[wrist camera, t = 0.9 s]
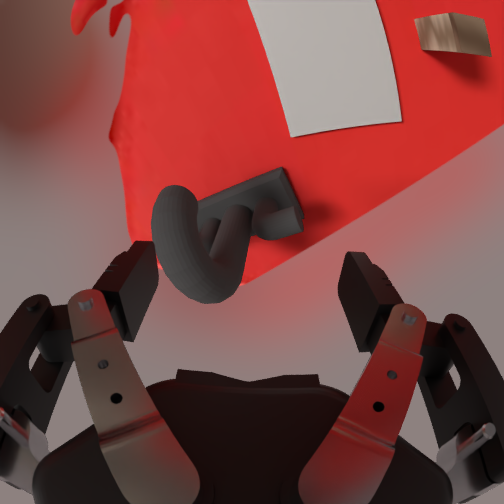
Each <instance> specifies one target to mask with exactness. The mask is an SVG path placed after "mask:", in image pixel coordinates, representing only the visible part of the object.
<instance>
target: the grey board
mask: <svg viewBox="0 0 504 504" xmlns="http://www.w3.org/2000/svg"><path fill="white" fill-rule="evenodd" d="M248 3H249V6H250V8H251V11H252V14H253V16H254V19H255V22H256V25H257V28H258V30H259V33H260V36H261V39H262V42H263V45H264V48H265V51H266V54H267V57H268V60H269V63H270V66H271V70H272V73H273V76H274V79H275V82H276V86H277V89H278V93H279V96H280V99H281V103H282V106H283V110H284V113H285V117H286V121H287V124H288V128H289V132H290V136H291V137H295V136H300V135H306V134H311V133H316V132H322V131H328V130H334V129H341V128H348V127H355V126H362V125H370V124H379V123H388V122H399V121H402V119H401V111H400V104H399V97H398V91H397V85H396V79H395V74H394V69H393V64H392V60H391V55H390V51H389V47H388V43H387V39H386V35H385V31H384V27H383V24H382V21H381V17H380V14H379V11H378V8H377V5H376V2H375V0H248Z"/></svg>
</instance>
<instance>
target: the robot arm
mask: <svg viewBox="0 0 504 504" xmlns="http://www.w3.org/2000/svg"><path fill="white" fill-rule="evenodd" d="M158 280H159V275H158V266H157V259H156V251H155V245H154V242H153V241H135V242H134V243H133V245H132V246H131V247H130V249H129V250H128V251H127V252H126V251H124V252H123V253H121V254H119V255H118V256H116V257H115V258H114V260H113V261H112V262H111V263H110V266H108V267H107V269H106V270H105V272H104V273H103V274H102V276H101V277H100V278H99V280H98V281H97V282H96V284H95V285H94V286H93V288H92V289H86V290H82V291H80V292H78V293H76V294H74V295H73V296H72V297H71V298H70V300H69V301H68V304H66V305H57V306H52V305H51V303H50V301H49V298H48V297H47V296H46V295H42V294H37V295H33V296H31V297H29V298H27V299H26V300H24V301H23V302H22V304H21V305H20V306H19V308H18V309H17V310H16V312H15V313H14V315H13V316H12V317H11V319H10V320H9V321H8V323H7V324H6V326H5V327H4V329H3V330H2V332H1V333H0V480H1V481H4V482H6V483H7V484H9V485H11V486H13V487H15V488H17V489H22V490H24V491H26V492H28V493H30V494H32V495H33V497H34V501H35V504H456V503H460V504H461V503H466V502H468V501H470V500H472V499H474V498H476V497H478V496H480V495H481V494H484V493H486V492H487V491H489V490H491V489H493V488H495V487H496V486H498V485H500V484H501V483H503V482H504V380H503V378H502V376H501V374H500V372H499V371H498V368H497V367H496V365H495V363H494V361H493V360H492V358H491V356H490V354H489V353H488V351H487V349H486V347H485V346H484V344H483V342H482V341H481V339H480V337H479V336H478V334H477V333H476V331H475V329H474V328H473V326H472V325H471V323H470V322H469V321H468V320H467V319H465V318H464V317H462V316H460V315H458V314H448V315H447V316H446V317H445V319H444V321H443V323H442V324H440V323H435V322H429V321H427V319H426V316H425V315H424V313H423V312H422V311H421V310H419V309H418V308H417V307H415V306H413V305H410V304H405V303H404V302H403V300H402V299H401V297H400V295H399V294H398V292H397V291H396V289H395V288H394V286H392V283H391V281H390V280H388V277H387V275H386V274H385V272H384V271H383V270H382V269H381V268H379V267H378V266H377V265H375V264H372V262H371V261H370V259H369V258H368V256H367V255H366V254H365V253H364V252H347V253H346V255H345V258H344V263H343V267H342V271H341V275H340V279H339V282H338V296H339V299H340V301H341V304H342V307H343V309H344V312H345V314H346V317H347V320H348V322H349V325H350V328H351V331H352V333H353V336H354V339H355V342H356V344H357V348H358V350H359V352H370V353H371V357H370V358H369V360H368V362H367V364H366V366H365V368H364V370H363V372H362V374H361V376H360V378H359V380H358V381H357V384H356V385H355V387H354V389H353V390H352V392H351V394H350V396H349V395H347V394H346V393H344V392H342V391H340V390H338V389H335V388H333V387H329V386H326V385H321V384H320V382H319V378H318V374H312V375H282V376H278V377H272V378H267V379H262V380H257V381H251V382H246V381H242V380H238V379H234V378H230V377H227V376H223V375H219V374H216V373H213V372H202V371H191V370H182V369H178V370H177V374H176V379H170V380H165V381H161V382H158V383H155V384H152V385H150V386H148V387H146V388H145V386H144V385H143V383H142V381H141V379H140V377H139V375H138V373H137V371H136V369H135V367H134V365H133V363H132V361H131V358H130V356H129V354H128V352H127V350H126V347H125V345H124V343H123V341H130V342H134V340H135V337H136V335H137V332H138V330H139V327H140V325H141V323H142V321H143V318H144V316H145V313H146V311H147V309H148V307H149V304H150V302H151V300H152V298H153V295H154V293H155V291H156V289H157V286H158ZM36 346H37V348H38V349H39V351H40V354H39V356H38V358H37V360H36V361H35V363H34V365H33V367H32V369H31V371H30V369H29V359H30V357H31V355H32V353H33V351H34V350H35V347H36ZM73 361H75V364H76V368H77V372H78V376H79V379H80V383H81V386H82V389H83V393H84V396H85V399H86V402H87V405H88V408H89V411H90V414H91V417H92V420H93V422H94V424H93V425H91V426H90V427H88V428H87V429H85V430H84V431H82V432H81V433H79V434H78V435H76V436H75V437H74V438H72V439H70V440H69V441H67V442H66V443H64V444H63V445H61V446H60V447H58V448H57V449H55V450H54V451H52V452H49V450H48V441H47V438H46V436H45V433H46V430H47V427H48V424H49V421H50V418H51V415H52V413H53V410H54V407H55V404H56V402H57V399H58V396H59V394H60V391H61V389H62V386H63V384H64V381H65V379H66V376H67V374H68V372H69V370H70V367H71V365H72V363H73ZM453 364H454V365H455V367H456V368H457V371H458V373H459V375H460V379H461V382H460V387H459V389H458V390H457V389H456V387H455V384H454V382H453V380H452V377H451V375H450V373H449V370H450V369H451V367H452V366H453ZM417 382H418V384H419V387H420V390H421V392H422V395H423V398H424V401H425V404H426V407H427V410H428V413H429V416H430V419H431V423H432V426H433V429H434V433H435V436H436V440H437V443H438V447H439V451H438V454H437V462H436V463H435V462H433V461H432V460H431V459H429V458H428V457H427V456H425V455H424V454H423V453H421V452H420V451H419V450H417V449H416V448H415V447H413V446H412V445H411V444H410V443H408V442H407V441H406V440H404V439H403V438H402V437H401V436H399V435H398V434H399V432H400V429H401V427H402V424H403V421H404V419H405V416H406V413H407V411H408V408H409V405H410V402H411V399H412V396H413V392H414V389H415V386H416V383H417Z"/></svg>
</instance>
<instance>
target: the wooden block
mask: <svg viewBox="0 0 504 504" xmlns="http://www.w3.org/2000/svg"><path fill="white" fill-rule="evenodd" d="M414 21H415V24H416V28H417V32H418V36H419V40H420V45H421V49H422V50H435V51H449V52H460V53H468V54H476V55H483V56H489V57H492V56H491V50H490V44H489V39H488V34H487V30H486V26H485V22H484V19H481V18H477V17H473V16H468V15H463V14H458V13H446V14H439V15H433V16H428V17H422V18H417V19H414Z"/></svg>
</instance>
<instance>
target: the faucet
mask: <svg viewBox="0 0 504 504" xmlns="http://www.w3.org/2000/svg"><path fill="white" fill-rule="evenodd" d="M302 219H304V214H303V211H302V209H301V207H300V205H299V202H298V200H297V198H296V196H295V194H294V191H293V189H292V187H291V185H290V183H289V181H288V178H287V176H286V174H285V172H284V170H283V168H282V167H279V168H277V169H274V170H272V171H269V172H267V173H264V174H261V175H259V176H256V177H254V178H251V179H249V180H247V181H244V182H242V183H239V184H237V185H234V186H232V187H230V188H227V189H225V190H223V191H220V192H218V193H216V194H213V195H211V196H209V197H206V198H204V199H202V200H200V201H197V199H196V197H195V196H194V195H193V193H192V192H191V191H190V190H188V189H187V188H185V187H182V186H179V185H171V186H167V187H165V188H164V189H163V190H162V191H161V192H160V194H159V195H158V198H157V200H156V202H155V204H154V207H153V212H152V220H151V229H152V240H153V242H154V245H155V251H156V254H157V258H158V260H159V262H160V264H161V266H162V268H163V270H164V272H165V274H166V275H167V277H168V278H169V279H170V281H171V282H172V283H173V284H174V286H175V287H176V288H177V289H178V290H180V291H181V292H182V293H183V294H184V295H186V296H187V297H188V298H190V299H193V300H195V301H198V302H200V303H204V304H209V303H220V302H222V301H224V300H226V299H227V298H229V297H230V296H232V295H233V294H234V293H235V291H236V290H237V288H238V286H239V285H240V283H241V280H242V276H243V272H244V267H245V262H246V257H247V252H248V246H249V241H250V237H251V236H254V235H257V236H258V237H260V238H262V239H265V240H277V239H281V238H284V237H287V236H290V235H293V234H297V233H300V232H303V231H304V227H303V222H302Z"/></svg>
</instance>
